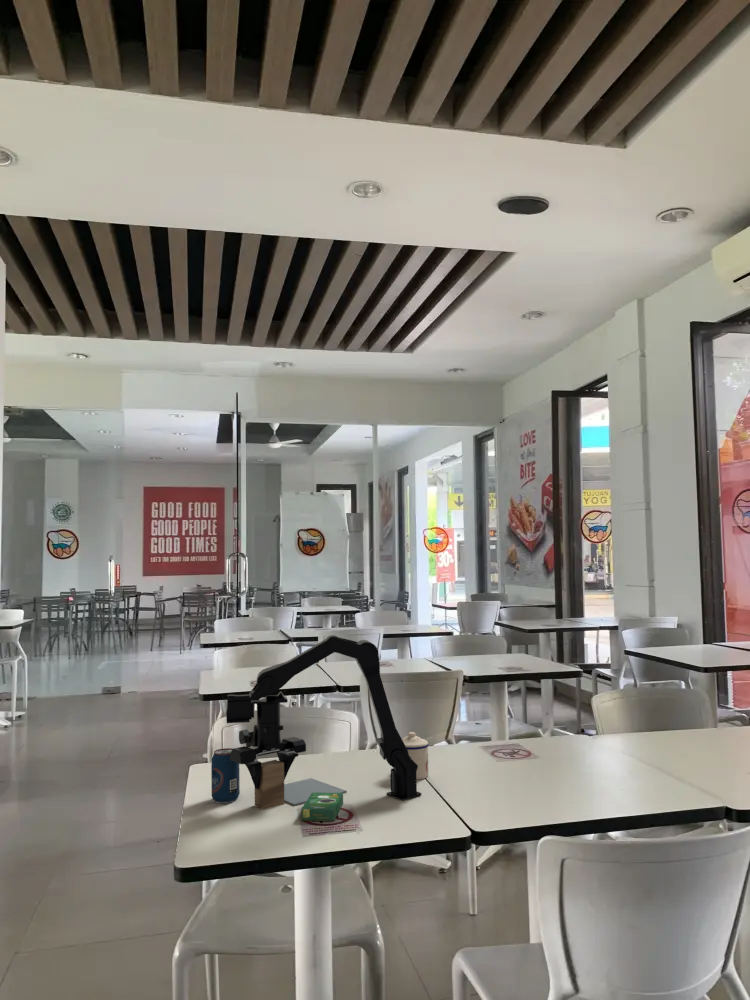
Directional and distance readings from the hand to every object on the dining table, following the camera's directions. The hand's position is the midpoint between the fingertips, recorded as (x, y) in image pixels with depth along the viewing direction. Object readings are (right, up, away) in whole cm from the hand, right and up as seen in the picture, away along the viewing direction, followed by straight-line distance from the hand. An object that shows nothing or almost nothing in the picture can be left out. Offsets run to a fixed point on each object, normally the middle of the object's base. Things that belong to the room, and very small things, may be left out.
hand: (269, 785), depth 190 cm
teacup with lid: (+36, -6, +24) cm, 43 cm away
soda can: (-12, -5, +4) cm, 13 cm away
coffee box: (+14, -3, 0) cm, 14 cm away
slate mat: (+7, -5, +10) cm, 13 cm away
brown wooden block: (0, -5, 0) cm, 5 cm away
